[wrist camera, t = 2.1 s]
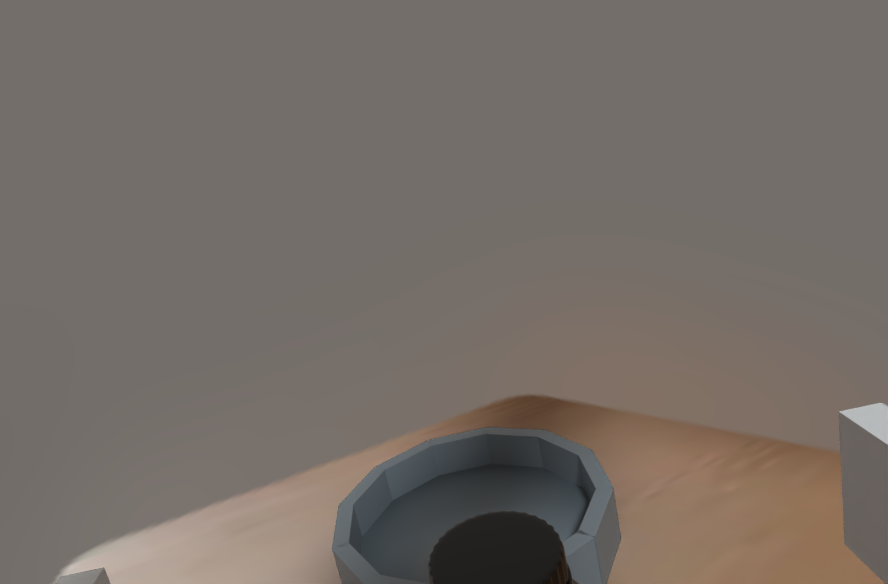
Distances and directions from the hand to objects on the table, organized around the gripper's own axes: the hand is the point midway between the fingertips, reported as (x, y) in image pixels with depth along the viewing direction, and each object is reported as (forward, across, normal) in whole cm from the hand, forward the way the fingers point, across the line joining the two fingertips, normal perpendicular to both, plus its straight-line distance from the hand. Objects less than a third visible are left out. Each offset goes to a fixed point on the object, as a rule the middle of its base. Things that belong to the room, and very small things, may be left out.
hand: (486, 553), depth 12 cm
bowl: (+26, -1, -19) cm, 33 cm away
